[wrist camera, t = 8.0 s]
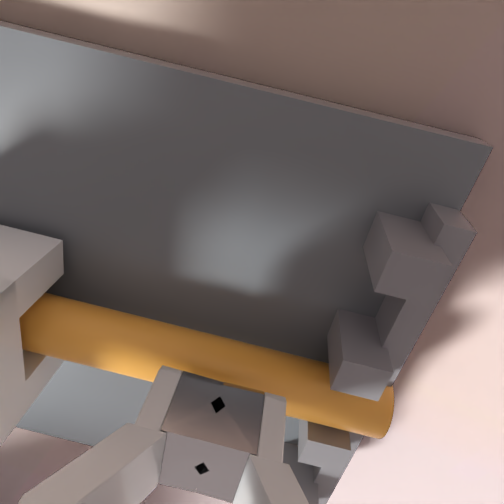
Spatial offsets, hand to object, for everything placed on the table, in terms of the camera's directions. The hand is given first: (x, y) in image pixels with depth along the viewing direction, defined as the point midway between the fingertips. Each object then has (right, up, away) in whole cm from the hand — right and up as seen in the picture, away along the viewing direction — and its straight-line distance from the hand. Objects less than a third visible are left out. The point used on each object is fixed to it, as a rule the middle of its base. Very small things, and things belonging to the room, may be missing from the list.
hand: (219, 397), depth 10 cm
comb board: (-4, +2, +3) cm, 5 cm away
